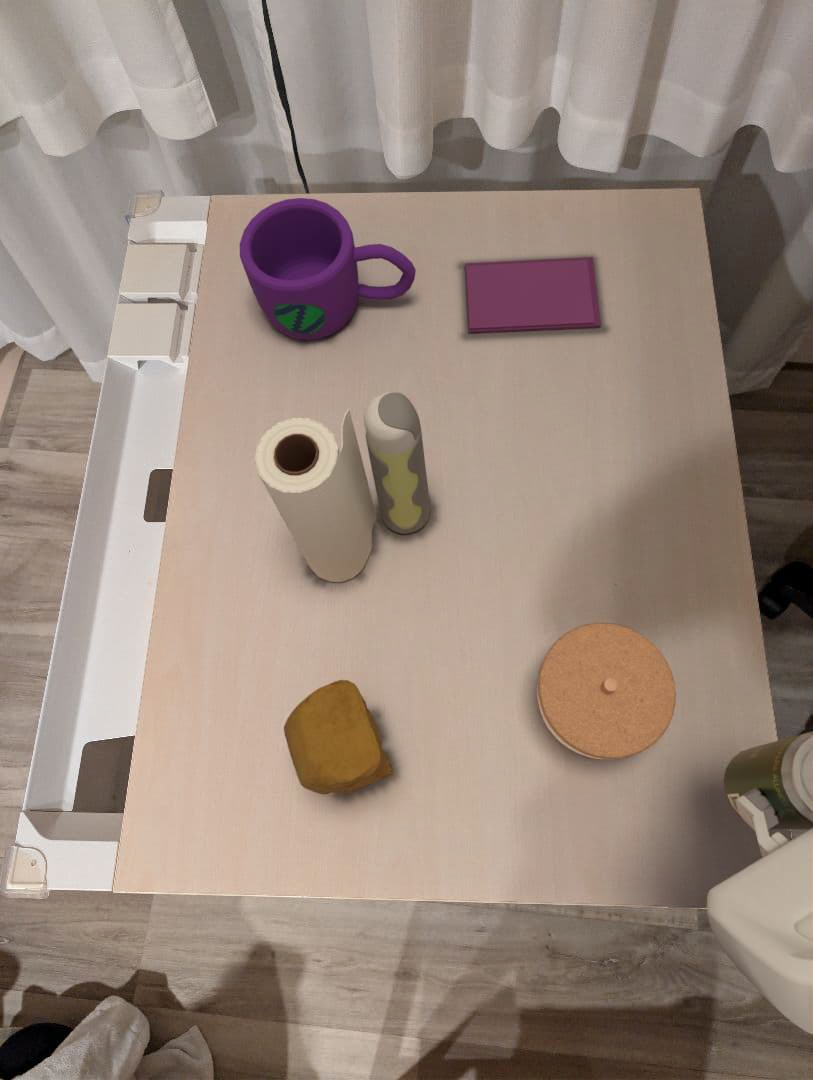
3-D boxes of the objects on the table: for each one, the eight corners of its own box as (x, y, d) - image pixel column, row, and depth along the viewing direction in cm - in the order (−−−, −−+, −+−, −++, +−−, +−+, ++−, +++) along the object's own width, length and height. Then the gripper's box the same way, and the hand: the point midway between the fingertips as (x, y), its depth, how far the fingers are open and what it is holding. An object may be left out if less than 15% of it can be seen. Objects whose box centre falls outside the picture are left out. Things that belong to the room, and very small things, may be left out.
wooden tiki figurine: (401, 780, 67) (386, 768, 53) (329, 809, 66) (296, 803, 52) (374, 704, 69) (353, 673, 55) (305, 731, 69) (266, 706, 55)
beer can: (768, 847, 52) (852, 852, 41) (704, 787, 54) (767, 777, 43) (816, 788, 53) (911, 778, 42) (752, 732, 55) (826, 707, 44)
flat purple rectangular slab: (592, 259, 85) (593, 254, 84) (600, 327, 82) (601, 323, 81) (465, 265, 86) (465, 261, 85) (468, 333, 83) (468, 329, 82)
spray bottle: (379, 493, 77) (354, 384, 58) (427, 487, 76) (418, 376, 58) (383, 538, 75) (359, 441, 56) (433, 532, 75) (425, 433, 56)
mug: (255, 348, 83) (230, 287, 74) (267, 263, 87) (244, 195, 78) (415, 349, 82) (411, 287, 73) (420, 263, 86) (416, 194, 77)
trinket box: (618, 790, 65) (643, 784, 57) (507, 723, 68) (515, 707, 59) (673, 683, 68) (705, 661, 60) (565, 622, 71) (581, 592, 62)
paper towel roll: (310, 588, 73) (257, 498, 53) (304, 530, 76) (250, 422, 56) (385, 576, 73) (359, 481, 53) (376, 518, 76) (348, 406, 56)
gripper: (1189, 796, 35) (921, 655, 48) (820, 1034, 33) (639, 821, 45) (1183, 884, 38) (930, 729, 50) (840, 1110, 36) (665, 889, 48)
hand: (790, 774), depth 48 cm, fingers closed on beer can, 5 cm apart
